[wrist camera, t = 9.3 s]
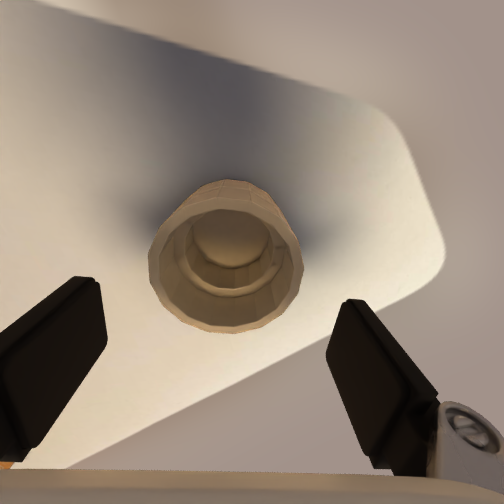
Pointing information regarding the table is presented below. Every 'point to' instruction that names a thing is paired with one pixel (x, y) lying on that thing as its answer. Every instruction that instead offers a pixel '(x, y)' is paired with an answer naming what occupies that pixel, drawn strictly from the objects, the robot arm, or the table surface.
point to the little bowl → (226, 259)
